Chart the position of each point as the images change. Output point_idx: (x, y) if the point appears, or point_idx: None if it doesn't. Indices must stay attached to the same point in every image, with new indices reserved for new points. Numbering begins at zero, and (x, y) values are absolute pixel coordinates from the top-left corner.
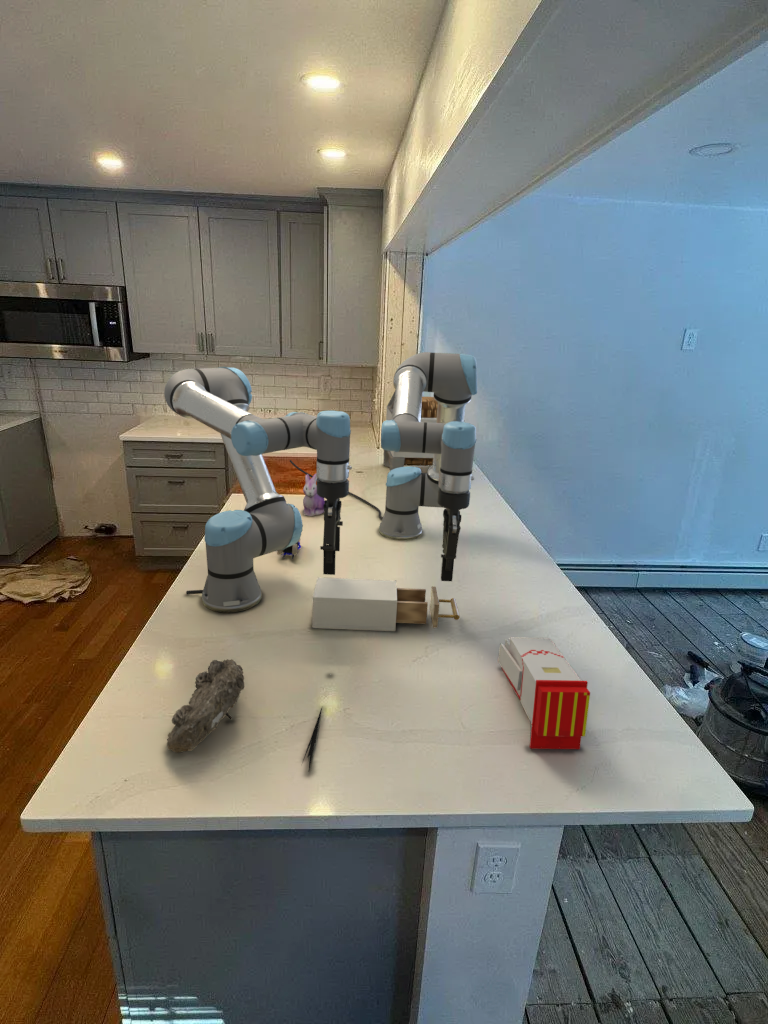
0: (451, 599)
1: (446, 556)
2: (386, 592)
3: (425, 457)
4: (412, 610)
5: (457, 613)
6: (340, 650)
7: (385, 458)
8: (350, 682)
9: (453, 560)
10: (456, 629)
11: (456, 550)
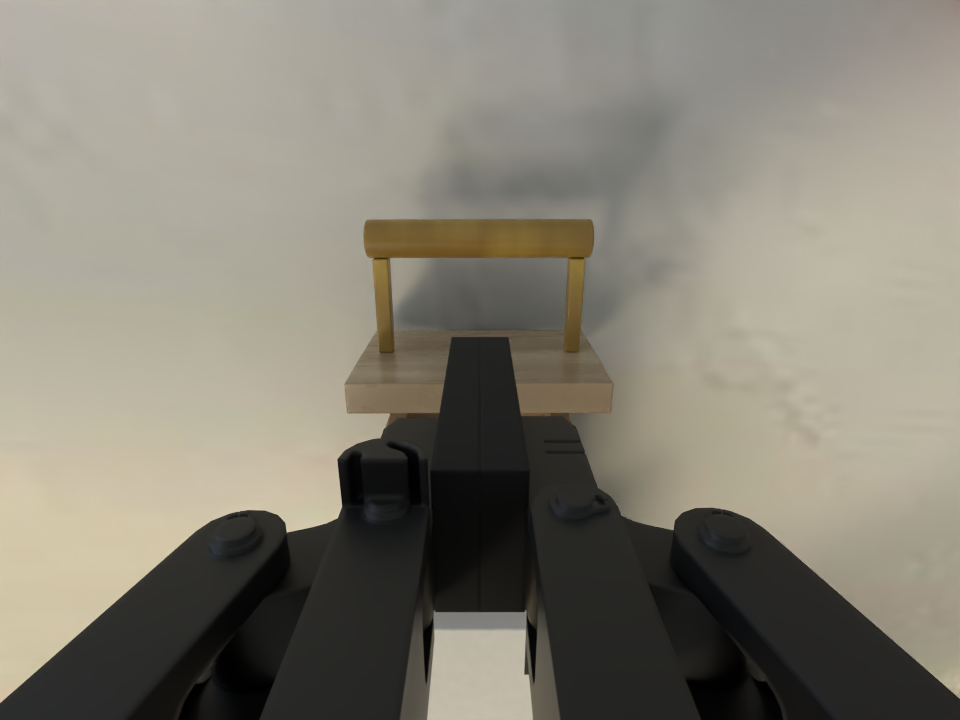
0: (380, 253)
1: (753, 678)
2: (516, 677)
3: None
4: None
5: (575, 236)
6: None
7: None
8: (906, 639)
9: (522, 450)
10: (554, 218)
11: (934, 683)
